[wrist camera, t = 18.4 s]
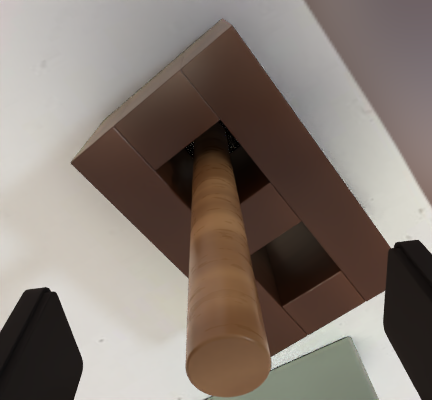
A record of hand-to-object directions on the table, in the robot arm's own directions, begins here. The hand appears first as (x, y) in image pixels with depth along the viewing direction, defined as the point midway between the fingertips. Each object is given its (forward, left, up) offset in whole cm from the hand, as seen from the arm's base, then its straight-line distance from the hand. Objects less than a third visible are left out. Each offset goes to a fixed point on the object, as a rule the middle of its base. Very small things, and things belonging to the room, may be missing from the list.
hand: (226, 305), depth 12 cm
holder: (+3, +2, -18) cm, 19 cm away
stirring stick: (+1, 0, -18) cm, 18 cm away
